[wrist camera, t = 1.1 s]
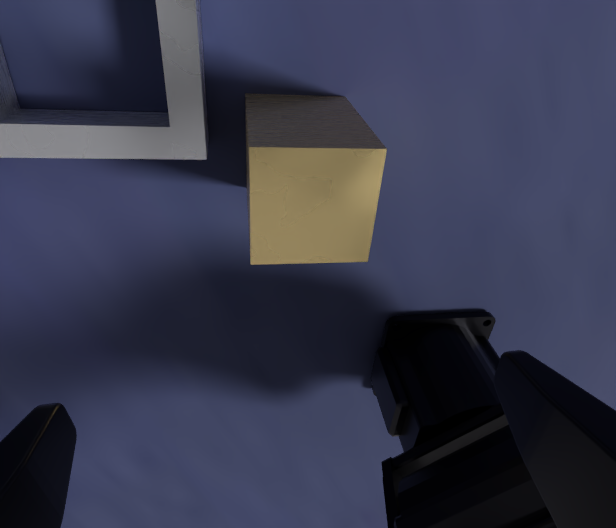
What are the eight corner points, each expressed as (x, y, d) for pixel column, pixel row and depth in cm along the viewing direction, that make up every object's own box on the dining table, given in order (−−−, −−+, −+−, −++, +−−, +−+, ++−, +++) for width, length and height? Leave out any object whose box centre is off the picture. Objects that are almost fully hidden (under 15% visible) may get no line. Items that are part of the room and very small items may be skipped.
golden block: (345, 96, 18) (386, 149, 13) (335, 187, 20) (367, 261, 15) (245, 93, 17) (248, 146, 12) (246, 187, 19) (250, 264, 14)
